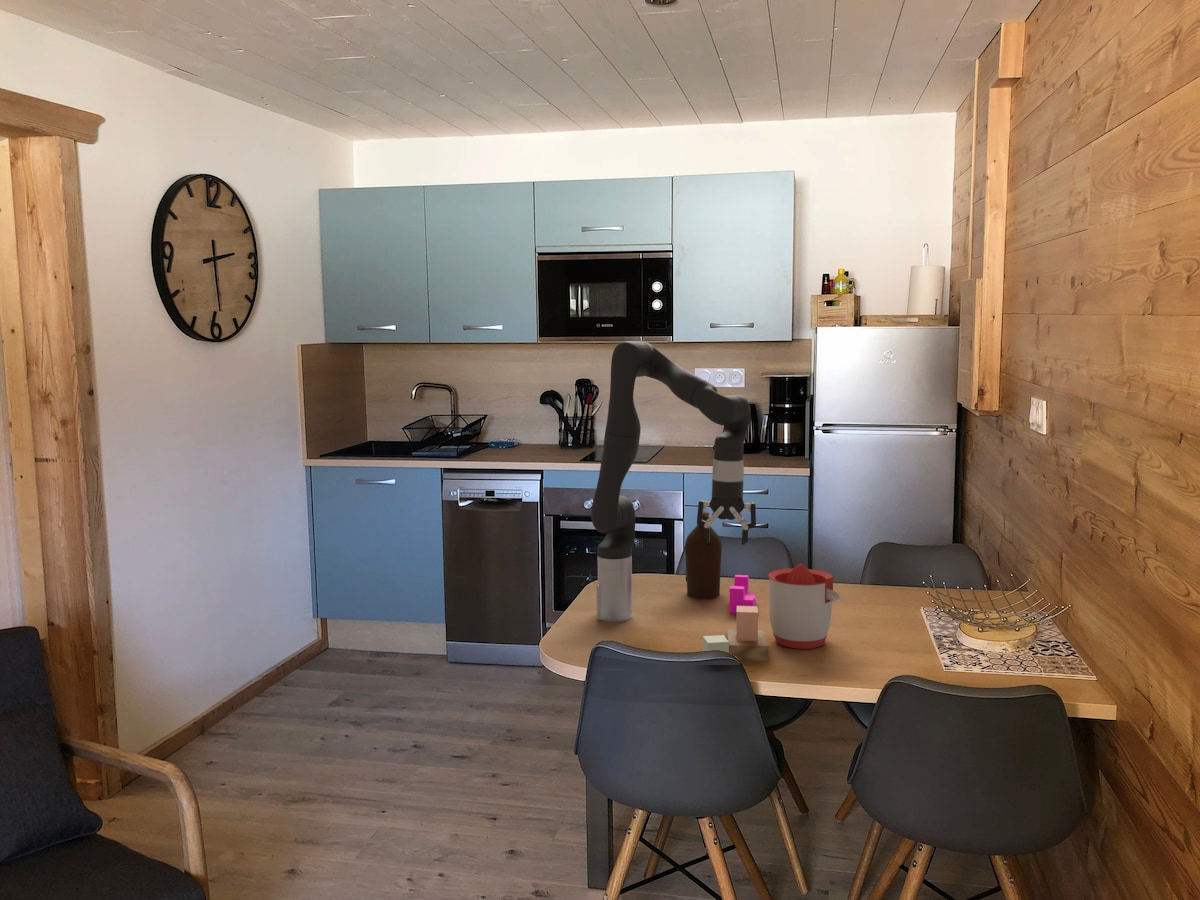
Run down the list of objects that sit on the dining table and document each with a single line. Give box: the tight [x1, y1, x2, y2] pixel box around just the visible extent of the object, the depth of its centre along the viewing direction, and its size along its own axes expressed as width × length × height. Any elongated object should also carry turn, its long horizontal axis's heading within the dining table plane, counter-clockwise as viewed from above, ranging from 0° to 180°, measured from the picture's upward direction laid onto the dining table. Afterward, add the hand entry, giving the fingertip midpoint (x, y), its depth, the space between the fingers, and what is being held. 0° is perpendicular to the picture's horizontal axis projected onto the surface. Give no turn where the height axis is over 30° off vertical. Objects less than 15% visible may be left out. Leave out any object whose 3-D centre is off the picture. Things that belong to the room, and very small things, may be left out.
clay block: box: [735, 605, 759, 641], centre depth 227 cm, size 5×5×7 cm
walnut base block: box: [725, 629, 769, 662], centre depth 228 cm, size 9×12×4 cm
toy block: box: [729, 574, 757, 614], centre depth 265 cm, size 15×6×8 cm, turn 166°
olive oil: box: [684, 510, 723, 600], centre depth 276 cm, size 11×11×25 cm
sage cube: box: [702, 634, 729, 653], centre depth 223 cm, size 5×5×5 cm
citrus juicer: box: [767, 563, 841, 650], centre depth 233 cm, size 16×17×20 cm
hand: (725, 543), depth 232 cm, fingers open, 8 cm apart
